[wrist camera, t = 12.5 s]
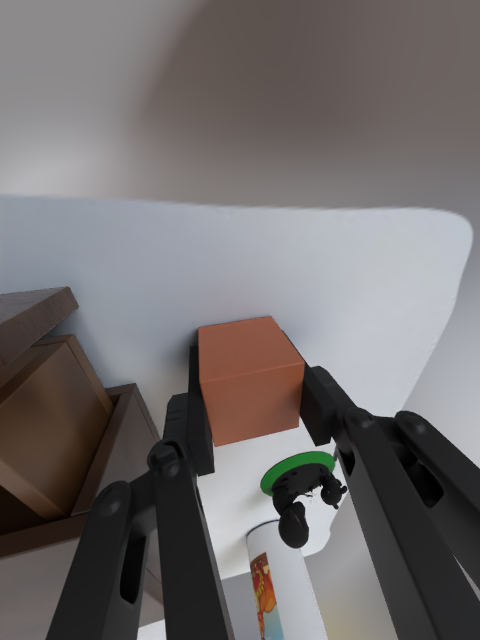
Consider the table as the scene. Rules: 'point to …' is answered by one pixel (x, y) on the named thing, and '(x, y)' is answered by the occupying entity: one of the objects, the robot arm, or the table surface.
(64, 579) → the cabinet
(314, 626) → the milk bottle
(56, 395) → the drawer
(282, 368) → the block
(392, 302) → the table surface
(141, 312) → the table surface
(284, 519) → the toy figurine
